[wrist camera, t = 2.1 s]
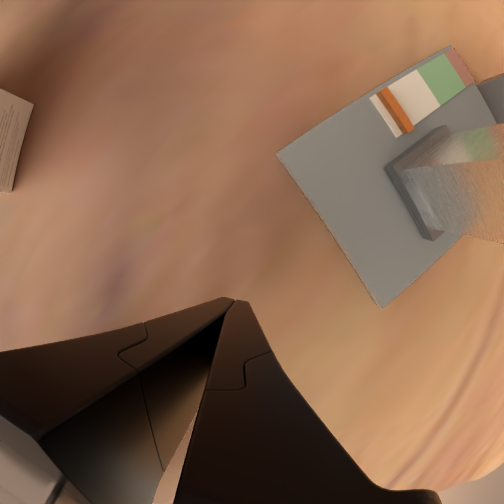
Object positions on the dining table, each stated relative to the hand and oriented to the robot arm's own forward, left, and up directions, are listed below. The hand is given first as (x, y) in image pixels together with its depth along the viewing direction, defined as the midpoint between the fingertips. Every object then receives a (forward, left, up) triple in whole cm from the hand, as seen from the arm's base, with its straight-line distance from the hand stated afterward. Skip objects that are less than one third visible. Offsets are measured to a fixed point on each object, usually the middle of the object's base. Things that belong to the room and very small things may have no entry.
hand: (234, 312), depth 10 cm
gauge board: (+11, -10, -8) cm, 17 cm away
